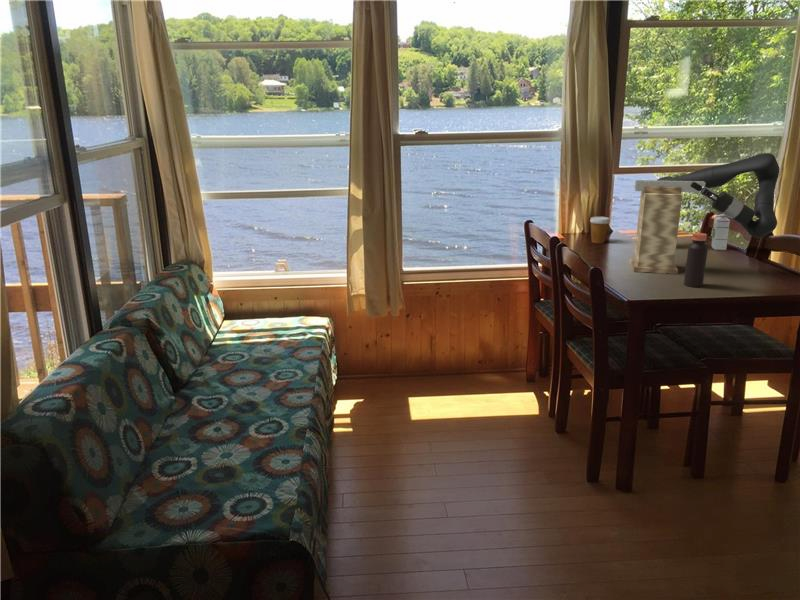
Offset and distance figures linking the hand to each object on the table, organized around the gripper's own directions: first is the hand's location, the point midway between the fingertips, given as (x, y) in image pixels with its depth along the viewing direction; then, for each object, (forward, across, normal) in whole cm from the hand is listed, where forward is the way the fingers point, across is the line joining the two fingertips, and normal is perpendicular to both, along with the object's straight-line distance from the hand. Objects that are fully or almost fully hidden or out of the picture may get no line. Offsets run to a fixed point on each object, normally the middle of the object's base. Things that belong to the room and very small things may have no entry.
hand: (691, 183), depth 265 cm
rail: (+5, 0, +7) cm, 9 cm away
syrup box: (-40, -44, +19) cm, 62 cm away
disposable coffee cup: (+7, -49, +46) cm, 67 cm away
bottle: (-18, +24, +31) cm, 43 cm away
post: (-8, 0, +37) cm, 38 cm away
